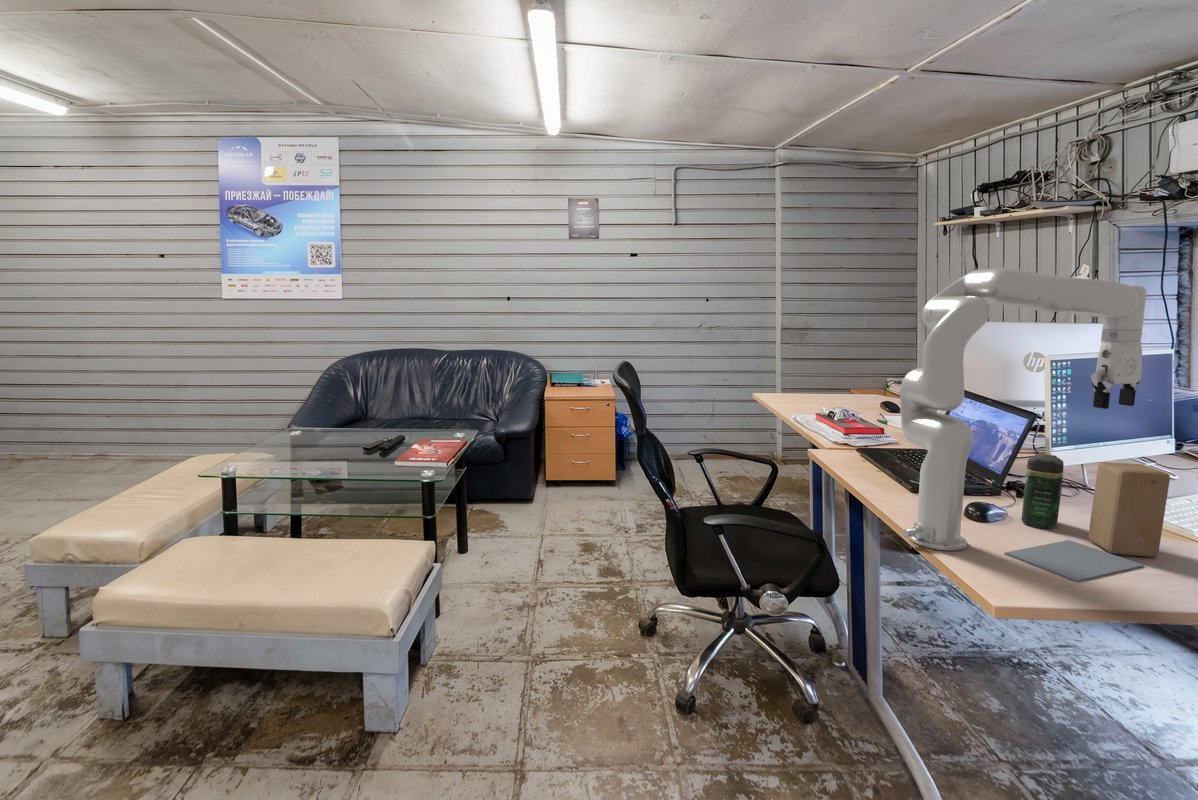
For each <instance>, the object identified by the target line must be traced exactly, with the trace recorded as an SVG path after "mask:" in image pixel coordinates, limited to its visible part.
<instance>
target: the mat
mask: <svg viewBox="0 0 1198 800" xmlns="http://www.w3.org/2000/svg"><path fill="white" fill-rule="evenodd" d="M1004 555H1005V556H1008V557H1011V558H1014V559H1016V560H1018V559H1019V561H1021V562H1024V563H1026V564H1029V565H1032V566H1034V567H1037V568H1039V569H1042V570H1045V571H1047V572H1050V573H1052V574H1055V575H1057V576H1059V577H1062V578H1065V579H1067V580H1070V581H1073V582H1075V583H1079V582H1083V581H1086V580H1090V579H1091V580H1093V579H1097V578H1100V577H1104V576H1105V577H1106V576H1109V575H1113V574H1116V573H1117V574H1118V573H1123V572H1127V571H1130V570H1135V569H1140V568H1143V567H1145V565H1144V564H1143V563H1139V562H1137V561H1133V560H1132V559H1128V558H1124V557H1122V556H1118V555H1117V554H1112V553H1110V552H1108V551H1104V550H1100V549H1098V548H1095V547H1092V546H1089V545H1086V544H1082V543H1079V542H1077V541H1074V540H1071V539H1067V540H1062V541H1061V540H1060V541H1055V542H1051V543H1047V544H1046V543H1045V544H1040V545H1035V546H1031V547H1026V548H1025V547H1024V548H1021V549H1016V550H1010V551H1006V552H1004ZM1139 567H1140V568H1139ZM1126 570H1127V571H1126Z"/></svg>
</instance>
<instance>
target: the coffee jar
mask: <svg viewBox="0 0 1198 800" xmlns="http://www.w3.org/2000/svg"><path fill="white" fill-rule="evenodd" d="M1026 462H1027V465H1026V472H1025V473H1026V474H1025V480H1024V481H1025V483H1024V492H1023V501H1022V512H1021V521H1022V522H1023V524H1026V525H1029V526H1032V527H1035V528H1038V529H1043V528H1044V529H1045V528H1047V529H1054V528H1055V527H1056V526H1057V524H1058V521H1059V513H1060V504H1061V498H1062V489H1063V478H1064V461H1063V460H1062V459H1061V458H1059V457H1057V455H1053V454H1047V453H1046V454H1045V453H1037V454H1035V455H1032V456H1030V457H1029V458H1028V459H1027V461H1026Z"/></svg>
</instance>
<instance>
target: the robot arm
mask: <svg viewBox="0 0 1198 800" xmlns="http://www.w3.org/2000/svg"><path fill="white" fill-rule="evenodd" d="M1146 300H1147V289H1146V287H1144V286H1143V285H1129V284H1126V283H1120V282H1115V281H1108V280H1101V279H1092V278H1091V279H1090V278H1082V277H1081V278H1080V277H1073V276H1063V275H1054V274H1047V273H1040V272H1033V271H1028V270H1022V269H1015V268H1010V267H994V268H982V269H974V270H972V271H971V272H969V273H966V274H964V275H963V276H961V277H960V278H958V279H957V280H956V281H954V282H952V283H951V284H950V285H948V286H947V287H945V288H944V289H943V290H941V291H940V292H938V293H937V294H935V295H934V296H933V297H932V298H930V299H929V300H928V301H927V303H925V305H924V307H923V309H922V313H921V318H922V321H923V324H924V325H925V326H926V327H927V328H928V329H930V330H931V332H930V333H929V334H928V336H927V337H926V339H925V342H924V345H923V349H922V367H919V368H918V367H917V368H914V369H912V370H910V371H909V372H908V373H907V374H905V376H904V377H903V379H902V381H901V384H900V389H899V390H900V392H899V394H900V395H899V400H900V401H899V402H900V415H901V416H900V418H901V419H900V422H901V429H902V433H903V437H904V438H905V440H906V441H908V442H909V443H910V444H911V445H913V446H915V447H917V448H921V449H924V450H926V451H927V453H926V455H925V457H924V459H923V461H922V463H921V466H920V472H919V486H918V487H919V489H918V499H917V500H918V501H917V502H918V503H917V516H916V522H913V526H912V527H911V528H906V529H903V530H902V531H901V535H902V537H903V538H909V540H910V541H911V542H913V543H914V544H916V545H919V546H921V547H925V548H928V549H932V550H939V551H949V552H950V551H951V552H952V551H953V552H954V551H960V550H963V549H965V548H967V545H968V540H967V539H966V538H965V537H963V536H962V535H961V531H962V530H961V527H962V526H961V525H962V519H963V517H962V515H963V502H964V489H965V480H966V479H965V478H966V468H967V463H968V462H967V461H968V458H969V454H970V452H971V449H972V446H973V439H974V436H973V431H972V429H971V427H970V425H968V424H967V422H965V421H964V420H962V419H960V418H959V417H956V416H953V415H948V414H944V413H939V412H938V411H942V412H949V411H950V412H951V411H954V410H956V409H958V408H959V407H961V406H962V404H963V402H964V399H965V375H964V372H965V371H964V367H965V366H964V356H965V349H966V346H967V345H968V342H969V341H970V340H971V339H972V337H973V336H974V335H975V334H976V333H977V332H978V331H979V330H980V329H982V328H983V326H985V324H986V323H987V322H988V319H989V317H990V313H991V307H990V305H1000V306H1004V307H1005V306H1008V307H1013V308H1020V309H1026V310H1033V311H1040V312H1052V313H1053V312H1056V313H1057V312H1059V313H1060V312H1061V313H1063V312H1071V313H1072V314H1074V315H1076V316H1079V317H1084V318H1103V320H1102V326H1101V327H1102V329H1101V338H1100V343H1101V344H1100V348H1099V352H1098V355H1097V359H1096V367H1095V371H1094V372H1093V373H1092V374H1091V375H1090V379H1091V385H1092V387H1093V389H1092V391H1093V392H1094V394H1093V403H1092V404H1093V405H1092V406H1093V408H1097V409H1103V410H1107V409H1109V408H1110V401H1111V400H1110V399H1111V392H1109V391H1110V389H1111V388H1112V386H1113V384H1115V385H1121V388H1119V395H1118V396H1119V397H1118V404H1119V406H1120V405H1121V406H1129V407H1133V406H1134V405H1135V402H1136V401H1135V400H1136V392H1137V390H1138V389H1139V388H1138V384H1139V383H1140V382H1141V379H1142V375H1143V347H1142V334H1143V327H1144V316H1145V308H1146Z"/></svg>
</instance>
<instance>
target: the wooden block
mask: <svg viewBox="0 0 1198 800" xmlns="http://www.w3.org/2000/svg"><path fill="white" fill-rule="evenodd" d="M1170 480H1171V477H1170V474H1169V473H1167V472H1165V471H1162V470H1160V469H1156V468H1154V467H1151V466H1148V465H1145V464H1142V463H1127V462H1112V461H1103V462H1099V463H1098V464H1097V471H1096V477H1095V486H1094V493H1093V500H1092V506H1091V513H1090V514H1091V515H1090V520H1089V529H1088V536H1087V537H1088V540H1089V541H1090V542H1092V543H1093V544H1096V545H1097V546H1098V547H1100V548H1102V549H1104V550H1105V551H1106V552H1107V553H1110V554H1113V555H1124V556H1136V557H1137V556H1138V557H1147V558H1148V557H1149V558H1155V557H1158V555H1159V552H1160V545H1161V538H1162V533H1163V532H1162V531H1163V526H1164V519H1165V512H1166V506H1167V499H1168V494H1169V486H1170Z"/></svg>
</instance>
